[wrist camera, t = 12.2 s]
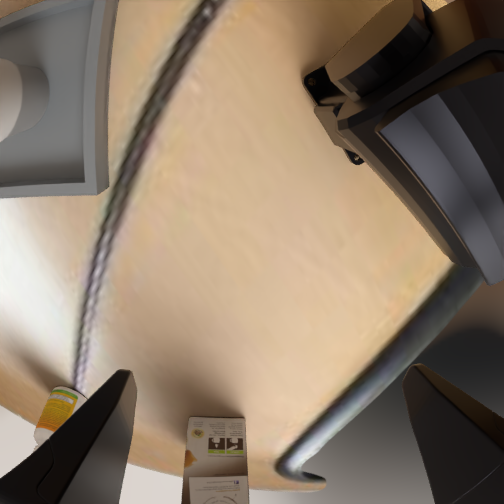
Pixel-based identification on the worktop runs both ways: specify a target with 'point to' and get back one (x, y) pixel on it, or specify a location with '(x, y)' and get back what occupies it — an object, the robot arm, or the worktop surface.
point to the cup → (21, 97)
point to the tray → (61, 98)
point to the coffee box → (215, 462)
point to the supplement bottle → (57, 412)
